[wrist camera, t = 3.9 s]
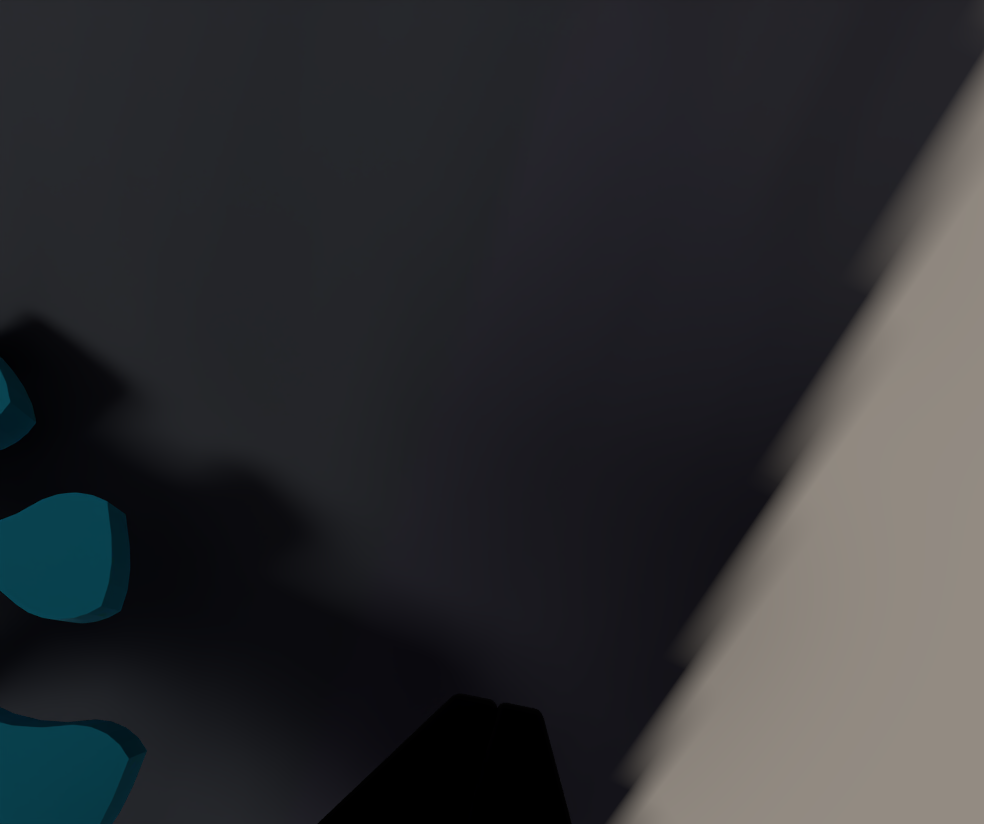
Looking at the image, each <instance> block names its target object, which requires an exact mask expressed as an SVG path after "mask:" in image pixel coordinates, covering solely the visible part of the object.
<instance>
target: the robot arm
mask: <svg viewBox="0 0 984 824" xmlns="http://www.w3.org/2000/svg"><path fill="white" fill-rule="evenodd" d="M318 824H572V823H571V819H570V815H569V812H568V808H567V804H566V800H565V797H564V793H563V789H562V785H561V782H560V778H559V774H558V770H557V767H556V763H555V759H554V755H553V752H552V748H551V744H550V740H549V737H548V733H547V729H546V725H545V722H544V718H543V716H542V714H541V712H540V711H539V710H537V709H534V708H530V707H525V706H520V705H515V704H510V703H502V704H500V705H499V706H498V708H497V706H496V704H495V702H494V701H493V700H490V699H485V698H480V697H475V696H470V695H466V694H456V695H454V696H452V697H451V698H450V699H449V700H448V701H447V702H446V703H445V704H444V705H442V706H441V707H440V708H439V709H438V710H437V711H436V712H435V713H434V714H433V715H432V716H431V717H430V718H429V719H428V720H427V721H426V722H424V723H423V724H422V725H421V726H420V727H419V728H418V729H417V730H416V731H415V732H414V733H413V734H412V735H411V736H410V737H409V738H408V739H407V740H405V741H404V742H403V743H402V744H401V745H400V746H399V747H398V748H397V749H396V750H395V751H394V752H393V753H392V754H391V755H390V756H389V757H387V758H386V759H385V760H384V761H383V762H382V763H381V764H380V765H379V766H378V767H377V768H376V769H375V770H374V771H373V772H372V773H371V774H370V775H368V776H367V777H366V778H365V779H364V780H363V781H362V782H361V783H360V784H359V785H358V786H357V787H356V788H355V789H354V790H353V791H352V792H350V793H349V794H348V795H347V796H346V797H345V798H344V799H343V800H342V801H341V802H340V803H339V804H338V805H337V806H336V807H335V808H334V809H333V810H331V811H330V812H329V813H328V814H327V815H326V816H325V817H324V818H323V819H322V820H321V821H320V822H319V823H318Z"/></svg>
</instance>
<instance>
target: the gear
mask: <svg viewBox="0 0 984 824" xmlns="http://www.w3.org/2000/svg"><path fill="white" fill-rule="evenodd" d="M35 424H36V419H35V414H34V410H33V405H32V403H31V400H30V398H29V396H28V394H27V392H26V390H25V388H24V386H23V384H22V383H21V382H20V380H19V379H18V377H17V376H16V374H15V373H14V371H13V370H12V369H11V368H10V366H9V365H8V364H7V363H6V362H5V361H4V360H3V359H2V358H1V356H0V450H2V449H5V448H7V447H9V446H11V445H13V444H14V443H16V442H18V441H19V440H20V439H22V438H23V437H24V436H25V435H26V434H27V433H29V431H30V430H31V429H32V427H33V426H34V425H35ZM129 576H130V543H129V536H128V528H127V520H126V514H125V513H123V512H122V511H120V510H119V509H117V508H116V507H114V506H113V505H112V504H110V503H109V502H107V501H105V500H103V499H101V498H98V497H96V496H94V495H89V494H83V493H64V494H57V495H54V496H51V497H48V498H45V499H42V500H40V501H38V502H37V503H35V504H33V505H31V506H29V507H28V508H26V509H24V510H22V511H20V512H19V513H17V514H15V515H12V516H9V517H7V518H4V519H1V520H0V591H1V592H2V593H4V594H5V595H6V596H7V597H8V598H9V599H10V600H12V601H13V602H14V603H15V604H16V605H18V606H19V607H21V608H22V609H24V610H25V611H27V612H28V613H31V614H33V615H36V616H39V617H42V618H47V619H53V620H60V621H66V622H74V623H90V622H96V621H100V620H103V619H106V618H109V617H111V616H113V615H115V614H116V613H118V612H120V611H121V609H122V606H123V603H124V600H125V597H126V594H127V591H128V584H129ZM146 752H147V750H146V749H145V747H144V746H143V744H142V743H141V741H140V739H139V738H138V737H137V736H136V735H134V734H133V733H132V732H131V731H130V730H128V729H127V728H126V727H123V726H121V725H119V724H116V723H114V722H111V721H104V720H86V721H75V722H59V721H44V720H38V719H34V718H30V717H26V716H22V715H18V714H14V713H12V712H9V711H7V710H5V709H3V708H1V707H0V824H112V823H113V822H114V820H115V819H116V817H117V816H118V814H119V813H120V811H121V809H122V807H123V805H124V803H125V801H126V799H127V797H128V795H129V793H130V791H131V789H132V787H133V785H134V782H135V780H136V777H137V775H138V772H139V770H140V767H141V765H142V762H143V759H144V757H145V754H146Z"/></svg>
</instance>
